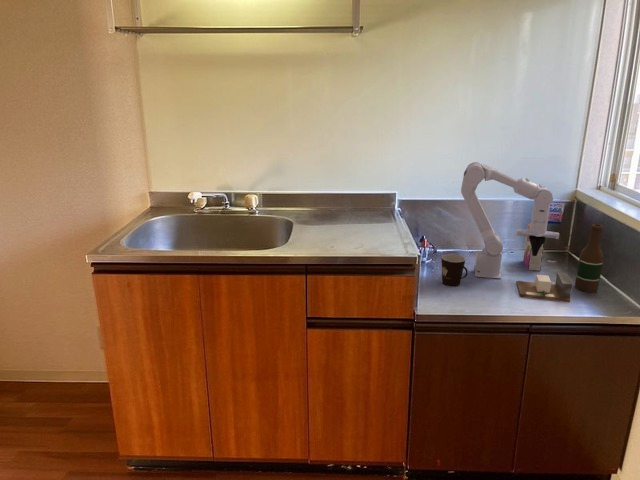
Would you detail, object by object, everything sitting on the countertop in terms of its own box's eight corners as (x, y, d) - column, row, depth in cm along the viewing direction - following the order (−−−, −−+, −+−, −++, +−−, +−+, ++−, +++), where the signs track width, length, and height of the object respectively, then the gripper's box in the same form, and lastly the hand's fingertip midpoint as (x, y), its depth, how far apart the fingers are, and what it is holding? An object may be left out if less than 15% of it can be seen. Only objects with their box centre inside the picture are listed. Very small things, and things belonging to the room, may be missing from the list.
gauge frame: (519, 297, 170) (522, 280, 168) (516, 283, 181) (518, 268, 179) (570, 302, 167) (572, 285, 165) (563, 288, 178) (565, 272, 176)
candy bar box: (522, 260, 204) (527, 223, 199) (534, 261, 203) (540, 223, 198) (527, 270, 194) (533, 231, 189) (540, 271, 193) (546, 231, 188)
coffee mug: (437, 278, 186) (439, 253, 183) (460, 278, 186) (462, 254, 183) (443, 291, 175) (445, 265, 172) (467, 291, 175) (470, 265, 172)
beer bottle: (578, 282, 183) (589, 220, 175) (601, 288, 177) (613, 225, 170) (570, 288, 177) (581, 225, 170) (593, 294, 172) (606, 229, 165)
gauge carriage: (538, 294, 169) (540, 284, 167) (534, 284, 177) (536, 274, 176) (557, 296, 167) (559, 285, 166) (552, 286, 175) (554, 276, 174)
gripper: (519, 221, 177) (514, 257, 181) (562, 224, 174) (557, 260, 178) (517, 216, 184) (512, 250, 188) (559, 219, 180) (553, 254, 184)
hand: (534, 255), depth 183 cm, fingers closed
